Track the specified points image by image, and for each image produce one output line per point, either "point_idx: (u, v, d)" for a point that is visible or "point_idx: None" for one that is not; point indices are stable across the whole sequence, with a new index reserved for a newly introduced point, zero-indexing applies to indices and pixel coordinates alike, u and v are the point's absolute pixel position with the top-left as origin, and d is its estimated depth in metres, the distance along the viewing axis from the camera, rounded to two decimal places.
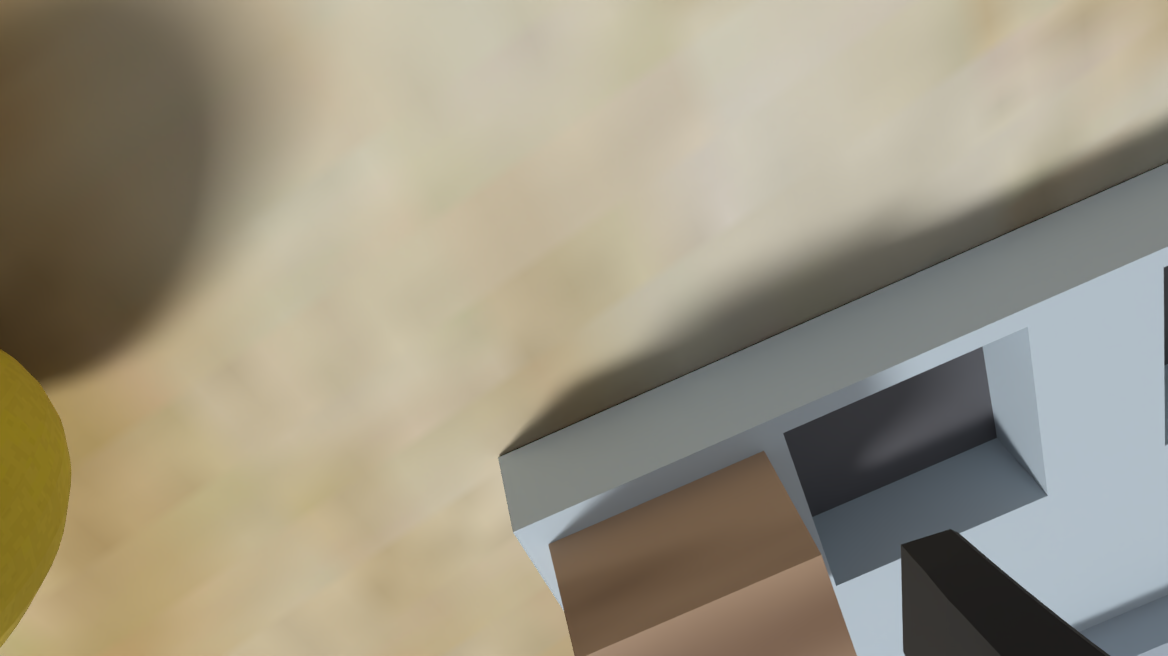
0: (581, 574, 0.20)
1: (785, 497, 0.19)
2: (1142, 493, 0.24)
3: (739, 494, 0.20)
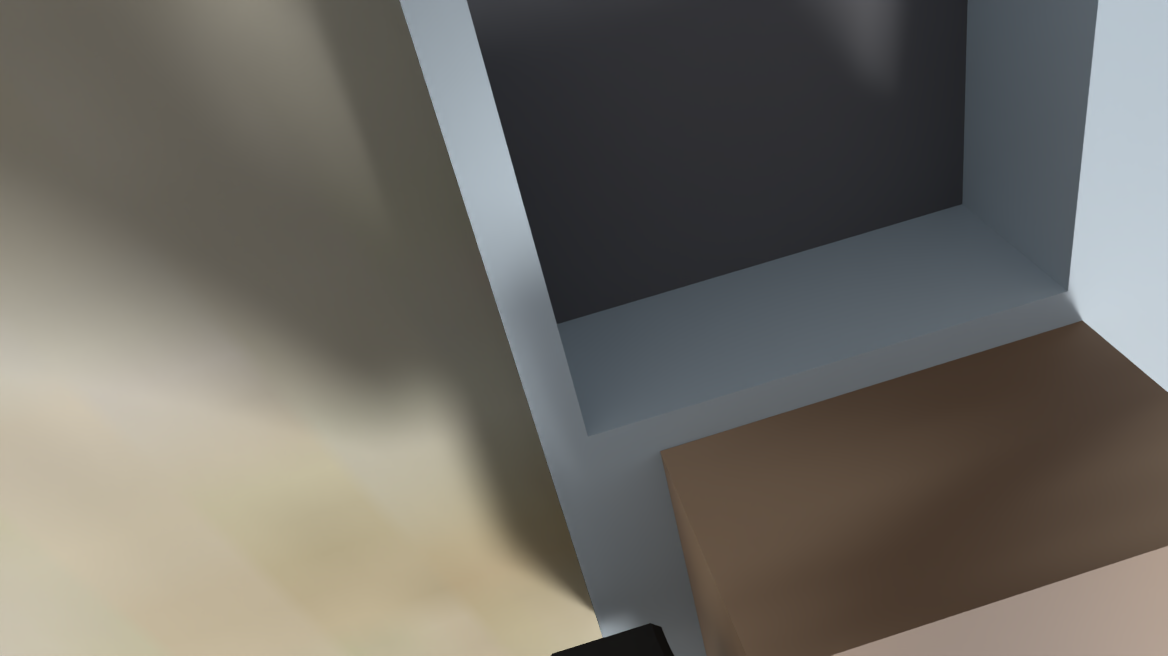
0: None
1: (700, 548, 0.09)
2: None
3: (695, 560, 0.10)
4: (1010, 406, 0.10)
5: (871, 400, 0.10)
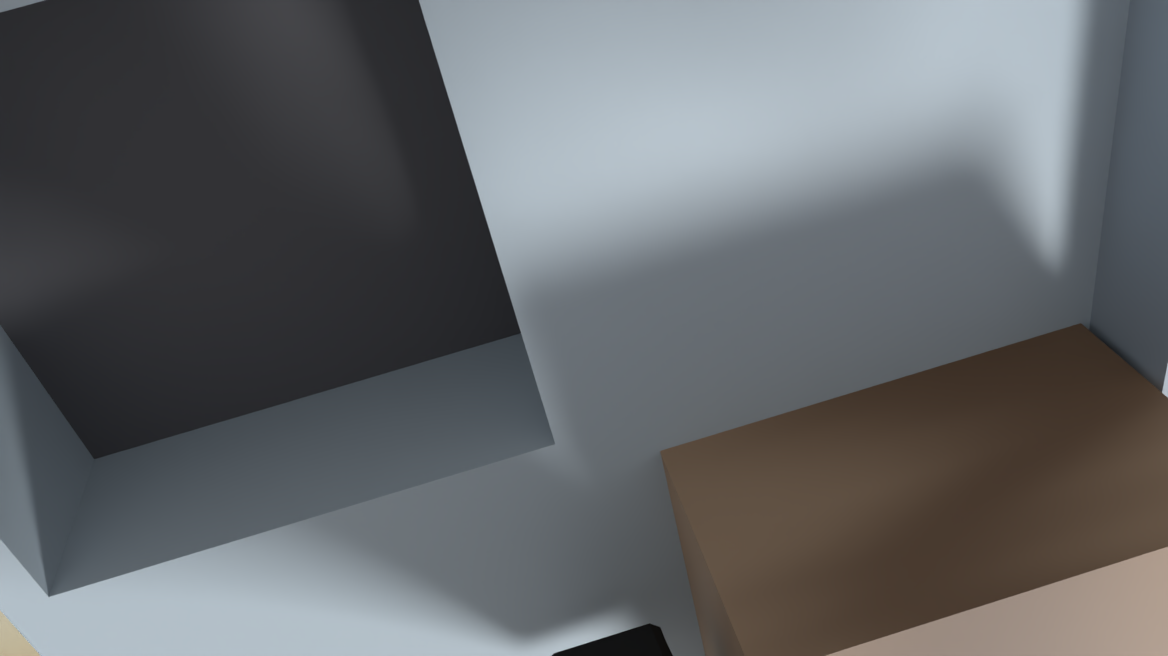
0: None
1: (699, 547, 0.10)
2: None
3: (693, 559, 0.10)
4: (1008, 408, 0.10)
5: (870, 400, 0.11)
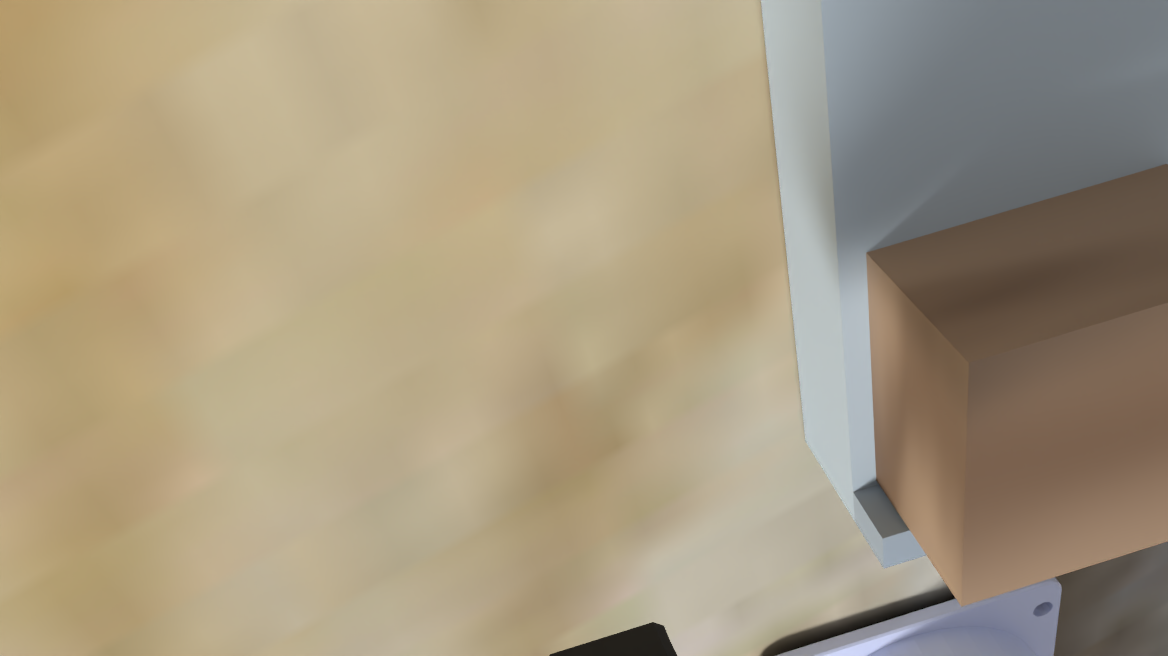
0: (935, 279, 0.14)
1: None
2: None
3: (1152, 202, 0.14)
4: None
5: None
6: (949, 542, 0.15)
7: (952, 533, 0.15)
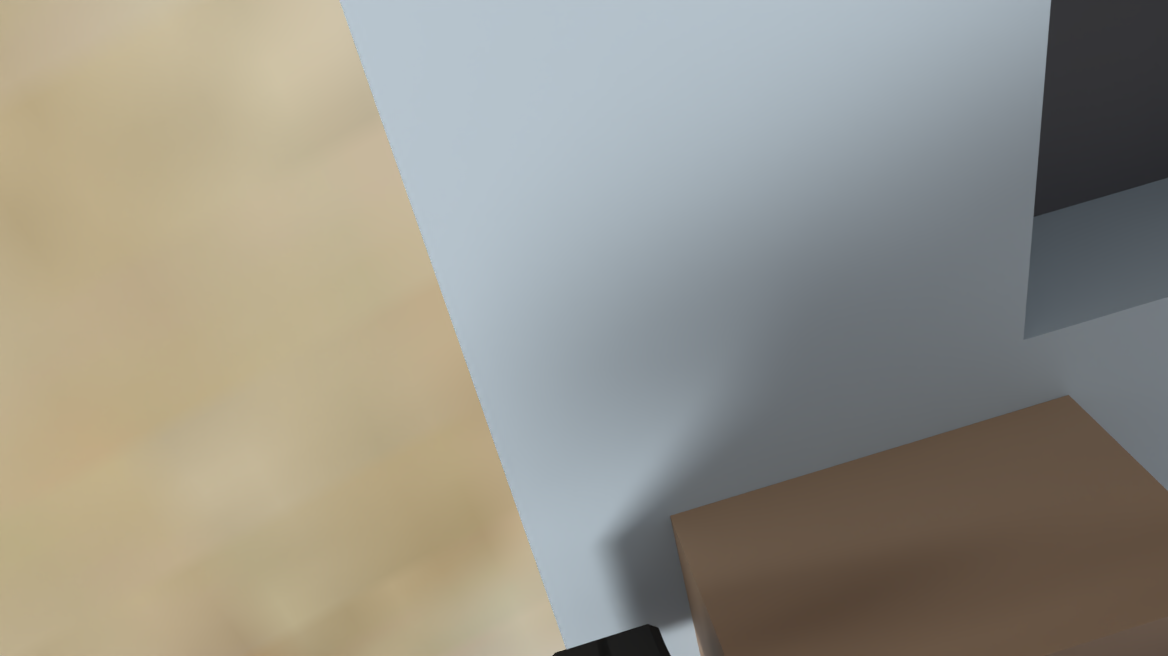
0: (746, 575, 0.10)
1: (1142, 474, 0.10)
2: None
3: (1043, 462, 0.11)
4: None
5: None
6: None
7: None
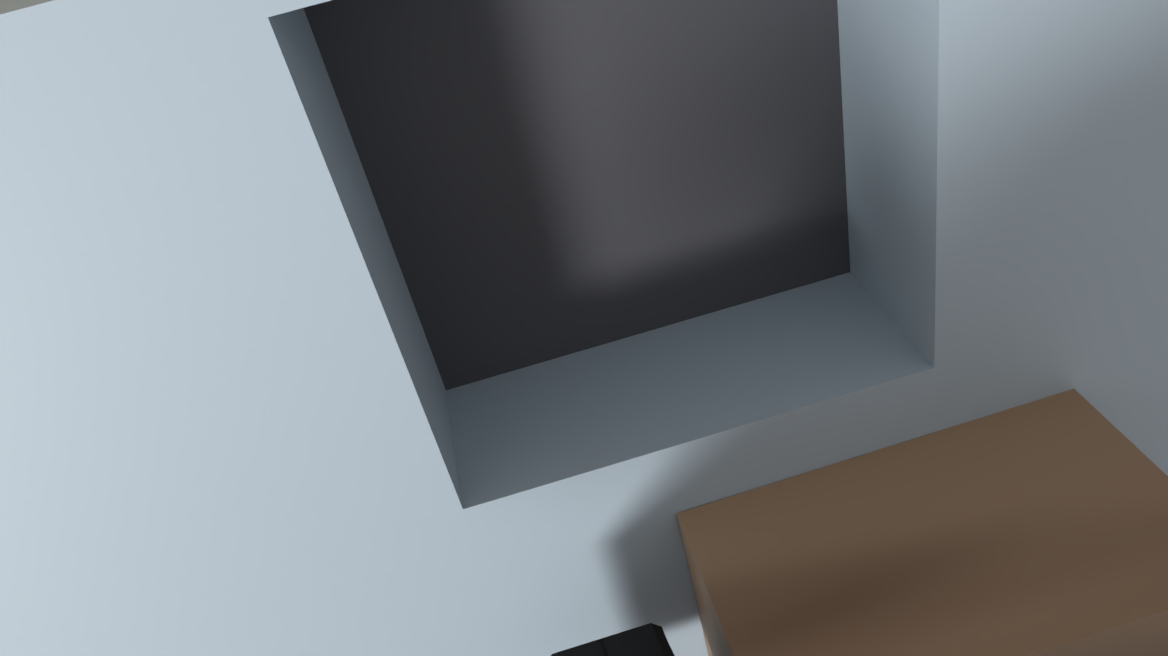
0: (752, 571, 0.10)
1: (1149, 467, 0.10)
2: (1117, 400, 0.12)
3: (1049, 456, 0.11)
4: None
5: None
6: None
7: None
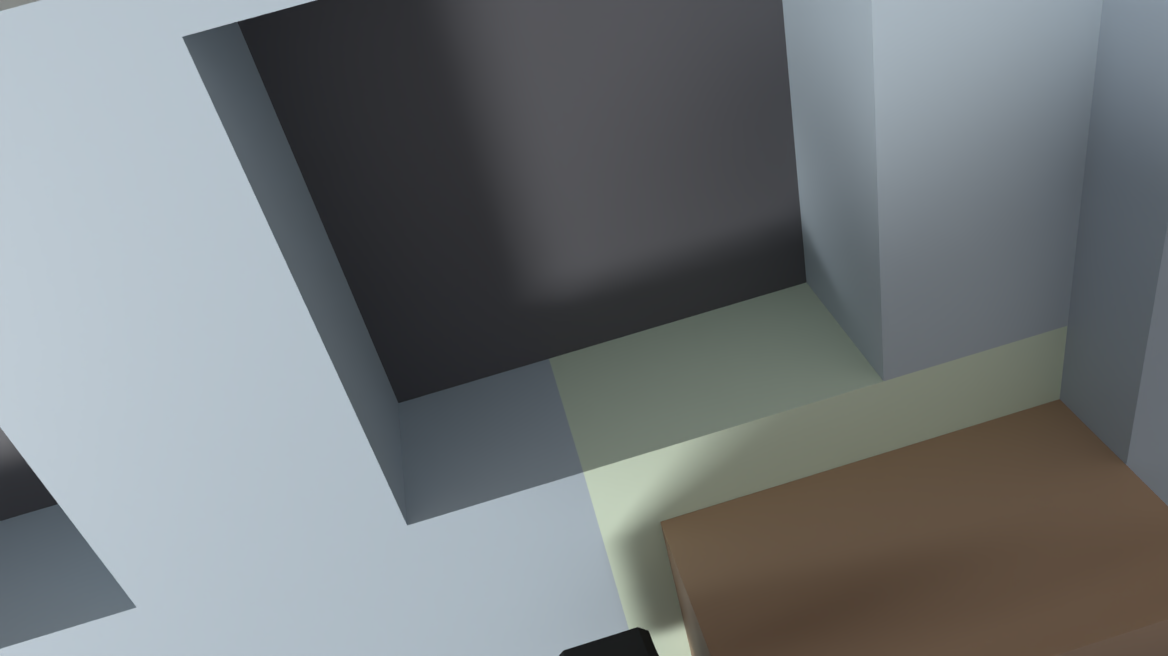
0: (735, 582, 0.10)
1: (1132, 479, 0.10)
2: (394, 621, 0.11)
3: (1032, 467, 0.11)
4: None
5: None
6: None
7: None
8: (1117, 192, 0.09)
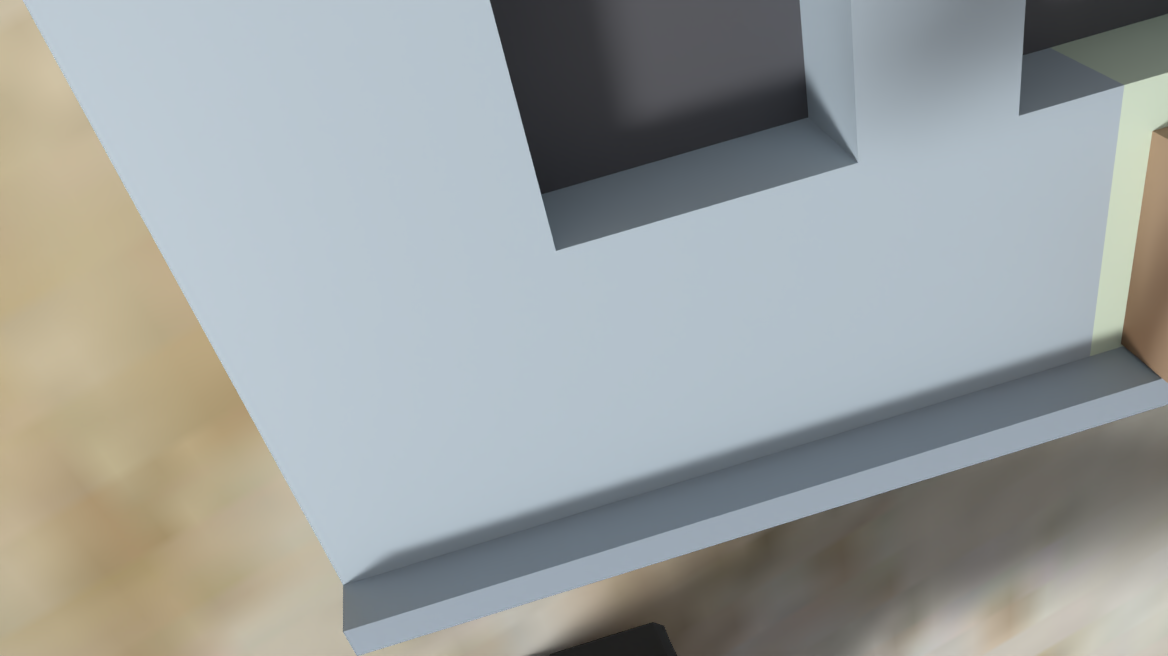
0: None
1: None
2: (984, 194, 0.18)
3: None
4: None
5: None
6: None
7: None
8: None
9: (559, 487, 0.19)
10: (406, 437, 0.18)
